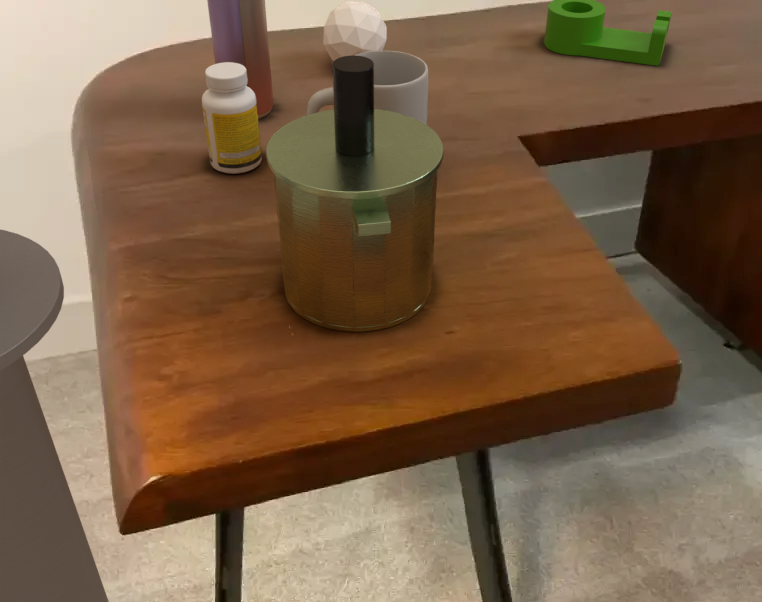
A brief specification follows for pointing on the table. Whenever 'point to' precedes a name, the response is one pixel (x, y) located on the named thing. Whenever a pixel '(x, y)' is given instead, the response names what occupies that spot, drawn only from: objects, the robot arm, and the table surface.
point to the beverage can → (244, 44)
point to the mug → (390, 85)
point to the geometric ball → (354, 30)
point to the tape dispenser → (601, 34)
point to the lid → (354, 143)
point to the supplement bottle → (231, 119)
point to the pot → (357, 256)
